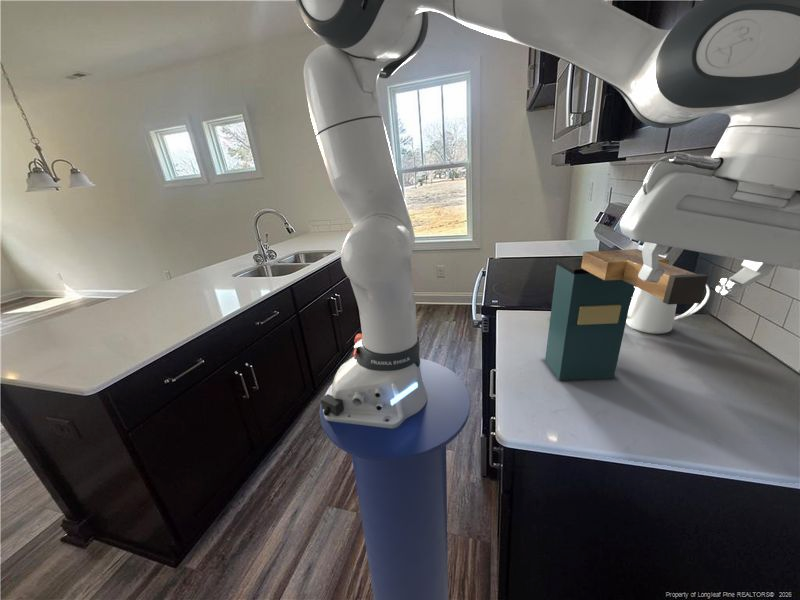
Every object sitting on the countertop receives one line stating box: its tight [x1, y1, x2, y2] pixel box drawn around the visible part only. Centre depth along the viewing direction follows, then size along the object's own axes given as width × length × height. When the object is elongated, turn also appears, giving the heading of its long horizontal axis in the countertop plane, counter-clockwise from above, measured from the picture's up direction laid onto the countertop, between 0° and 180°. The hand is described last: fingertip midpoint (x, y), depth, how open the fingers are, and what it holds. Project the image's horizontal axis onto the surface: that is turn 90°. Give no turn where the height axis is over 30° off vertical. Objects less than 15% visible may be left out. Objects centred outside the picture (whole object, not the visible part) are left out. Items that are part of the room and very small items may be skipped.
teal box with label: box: [544, 257, 635, 381], centre depth 70 cm, size 13×9×26 cm
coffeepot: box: [626, 283, 711, 335], centre depth 88 cm, size 11×25×19 cm, turn 74°
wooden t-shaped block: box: [581, 248, 709, 305], centre depth 52 cm, size 10×18×4 cm, turn 178°
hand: (685, 287), depth 38 cm, fingers open, 8 cm apart
